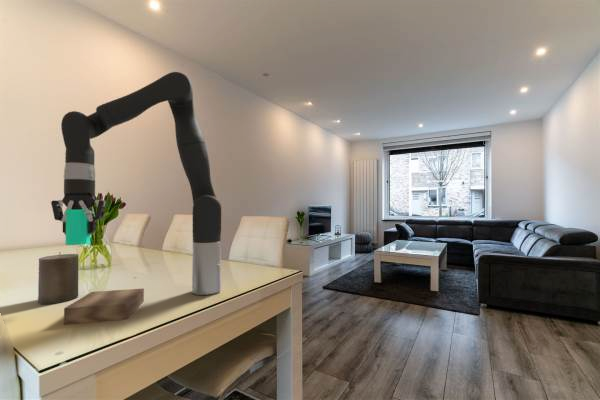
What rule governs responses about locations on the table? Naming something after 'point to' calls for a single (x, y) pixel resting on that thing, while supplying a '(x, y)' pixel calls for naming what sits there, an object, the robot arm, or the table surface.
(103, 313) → the walnut stand
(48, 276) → the pillar candle
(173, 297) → the table surface
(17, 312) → the table surface
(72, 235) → the teal green tall block
